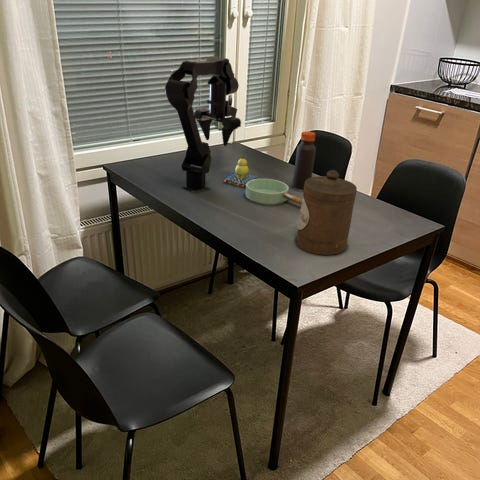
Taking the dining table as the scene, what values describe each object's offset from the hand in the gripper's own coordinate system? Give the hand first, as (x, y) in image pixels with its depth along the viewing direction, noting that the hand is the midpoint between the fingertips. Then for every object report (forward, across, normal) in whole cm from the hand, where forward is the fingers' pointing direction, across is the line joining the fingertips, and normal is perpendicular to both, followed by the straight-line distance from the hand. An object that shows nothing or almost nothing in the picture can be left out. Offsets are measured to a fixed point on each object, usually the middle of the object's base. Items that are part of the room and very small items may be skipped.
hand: (216, 142), depth 181 cm
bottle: (+13, -28, -18) cm, 36 cm away
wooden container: (+13, -61, +16) cm, 64 cm away
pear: (+11, -10, -4) cm, 15 cm away
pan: (+13, -26, 0) cm, 29 cm away
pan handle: (+11, -39, 0) cm, 41 cm away
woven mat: (+13, -10, -4) cm, 17 cm away
